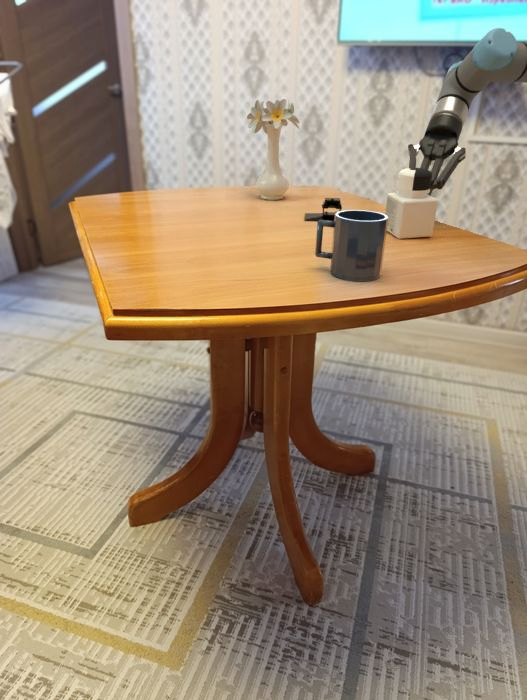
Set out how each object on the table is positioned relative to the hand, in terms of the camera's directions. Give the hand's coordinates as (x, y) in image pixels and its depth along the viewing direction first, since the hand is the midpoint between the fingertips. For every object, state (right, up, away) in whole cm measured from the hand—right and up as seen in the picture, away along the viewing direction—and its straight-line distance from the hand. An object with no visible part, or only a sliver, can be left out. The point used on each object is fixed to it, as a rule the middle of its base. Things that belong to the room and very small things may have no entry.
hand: (414, 211), depth 110 cm
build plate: (-17, +1, +11) cm, 20 cm away
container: (-2, -5, -1) cm, 6 cm away
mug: (-19, -17, -25) cm, 36 cm away
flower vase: (-31, +13, +32) cm, 47 cm away
